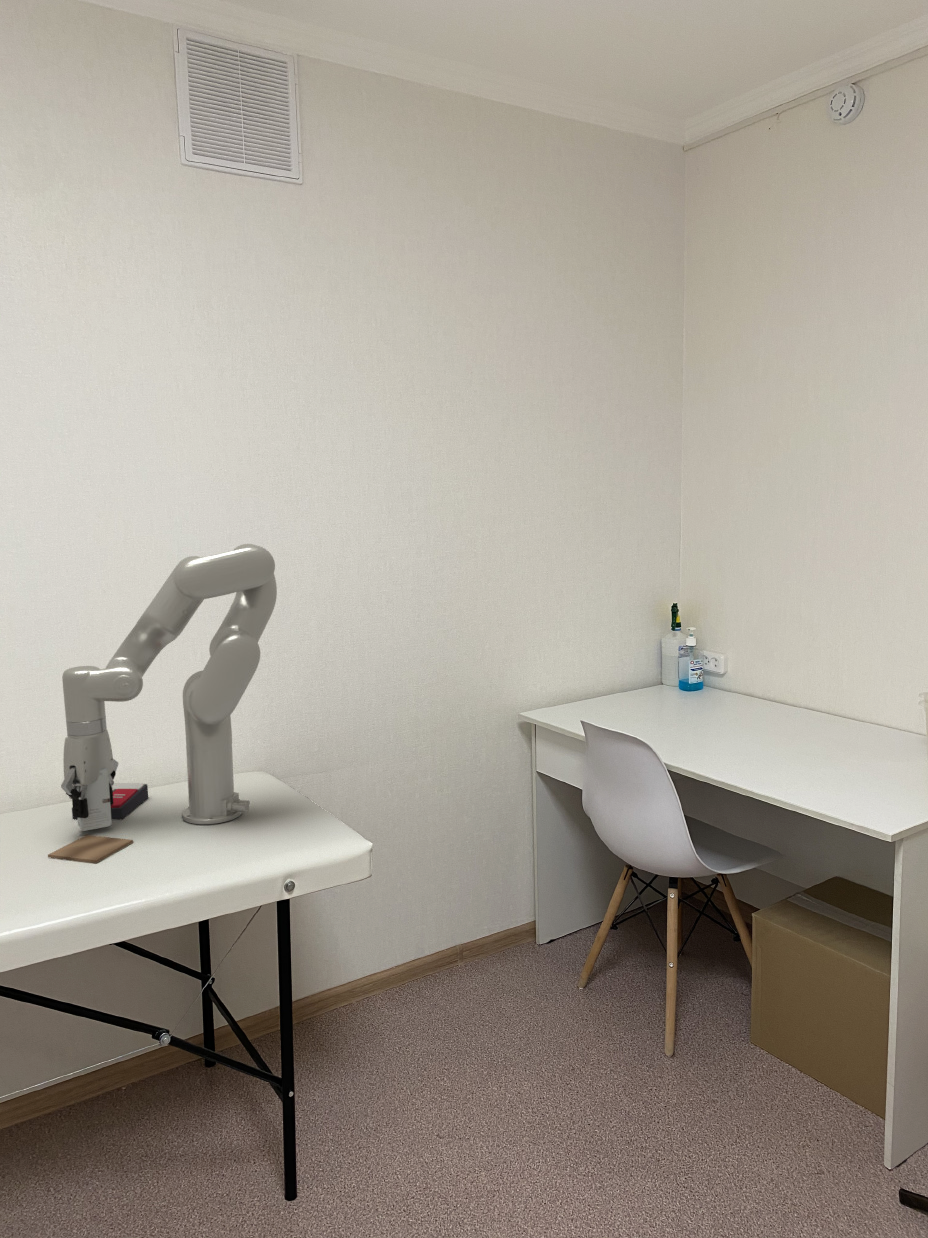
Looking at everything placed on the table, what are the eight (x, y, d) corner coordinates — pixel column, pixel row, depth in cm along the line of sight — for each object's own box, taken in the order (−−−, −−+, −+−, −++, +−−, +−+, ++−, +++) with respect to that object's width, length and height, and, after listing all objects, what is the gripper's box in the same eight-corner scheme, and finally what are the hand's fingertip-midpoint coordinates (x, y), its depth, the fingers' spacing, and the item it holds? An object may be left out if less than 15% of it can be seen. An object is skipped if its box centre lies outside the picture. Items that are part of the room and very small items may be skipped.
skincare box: (81, 832, 186) (76, 774, 185) (77, 826, 190) (72, 769, 189) (113, 825, 190) (108, 768, 188) (108, 819, 193) (103, 764, 192)
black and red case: (70, 804, 196) (100, 780, 211) (72, 824, 197) (102, 798, 212) (120, 805, 196) (147, 780, 211) (122, 824, 197) (149, 798, 211)
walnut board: (133, 842, 183) (133, 840, 183) (96, 863, 172) (96, 860, 172) (86, 837, 186) (86, 834, 186) (48, 857, 176) (47, 854, 176)
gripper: (99, 716, 196) (106, 796, 199) (40, 737, 180) (48, 824, 182) (129, 717, 194) (135, 798, 197) (72, 739, 178) (80, 827, 180)
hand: (93, 810), depth 189 cm, fingers closed on skincare box, 7 cm apart
